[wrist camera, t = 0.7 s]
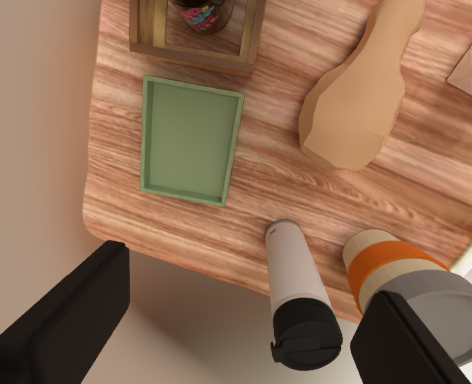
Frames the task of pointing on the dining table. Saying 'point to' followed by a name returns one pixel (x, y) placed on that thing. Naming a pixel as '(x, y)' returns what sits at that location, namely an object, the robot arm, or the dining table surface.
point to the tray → (188, 140)
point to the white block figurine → (463, 73)
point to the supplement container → (204, 14)
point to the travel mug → (299, 302)
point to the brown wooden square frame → (154, 47)
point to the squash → (360, 92)
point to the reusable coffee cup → (412, 287)
